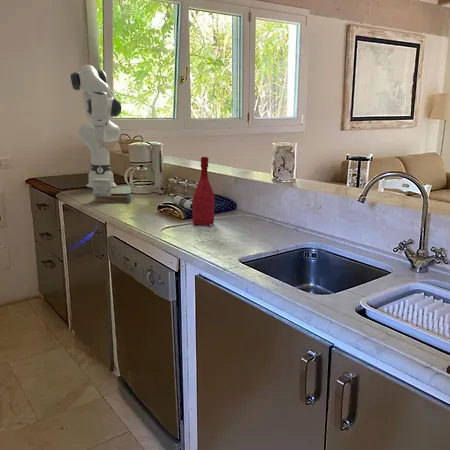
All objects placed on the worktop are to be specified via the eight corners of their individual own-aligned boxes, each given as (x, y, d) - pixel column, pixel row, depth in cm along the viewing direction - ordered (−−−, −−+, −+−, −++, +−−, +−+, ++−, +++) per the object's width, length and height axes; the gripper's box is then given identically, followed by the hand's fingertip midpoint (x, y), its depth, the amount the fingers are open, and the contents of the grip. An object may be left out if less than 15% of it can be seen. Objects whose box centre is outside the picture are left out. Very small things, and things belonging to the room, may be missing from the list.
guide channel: (97, 198, 256) (97, 189, 254) (130, 198, 259) (130, 189, 258) (95, 202, 246) (95, 193, 244) (130, 202, 249) (130, 193, 248)
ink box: (111, 200, 253) (111, 178, 250) (108, 201, 248) (108, 180, 246) (96, 199, 254) (95, 177, 251) (93, 201, 249) (92, 179, 246)
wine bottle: (217, 222, 210) (219, 156, 203) (209, 227, 201) (211, 158, 194) (197, 220, 213) (198, 155, 206) (188, 225, 204) (189, 157, 197)
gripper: (96, 121, 258) (97, 146, 261) (92, 122, 238) (93, 149, 242) (108, 122, 259) (108, 147, 262) (105, 123, 239) (106, 150, 243)
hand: (101, 148), depth 252 cm, fingers open, 8 cm apart
